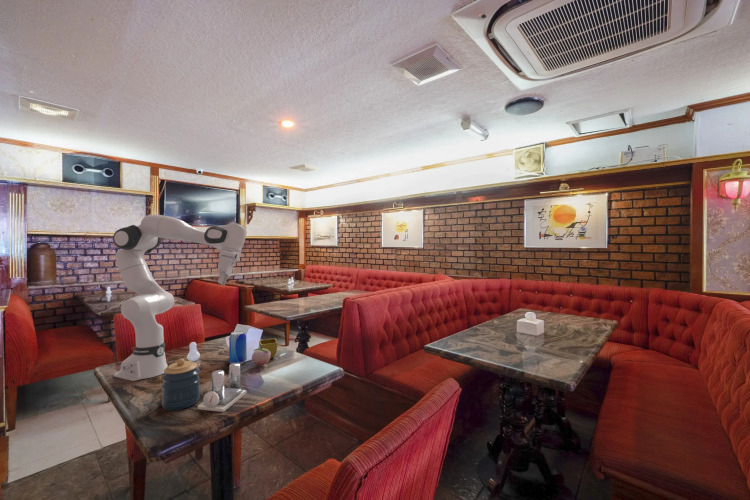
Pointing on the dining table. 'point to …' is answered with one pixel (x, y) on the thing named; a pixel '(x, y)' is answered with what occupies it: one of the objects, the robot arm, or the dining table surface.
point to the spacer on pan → (218, 383)
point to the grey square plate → (229, 395)
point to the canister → (180, 385)
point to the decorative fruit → (261, 356)
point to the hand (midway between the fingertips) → (221, 284)
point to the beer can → (237, 347)
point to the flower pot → (269, 346)
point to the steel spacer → (234, 375)
